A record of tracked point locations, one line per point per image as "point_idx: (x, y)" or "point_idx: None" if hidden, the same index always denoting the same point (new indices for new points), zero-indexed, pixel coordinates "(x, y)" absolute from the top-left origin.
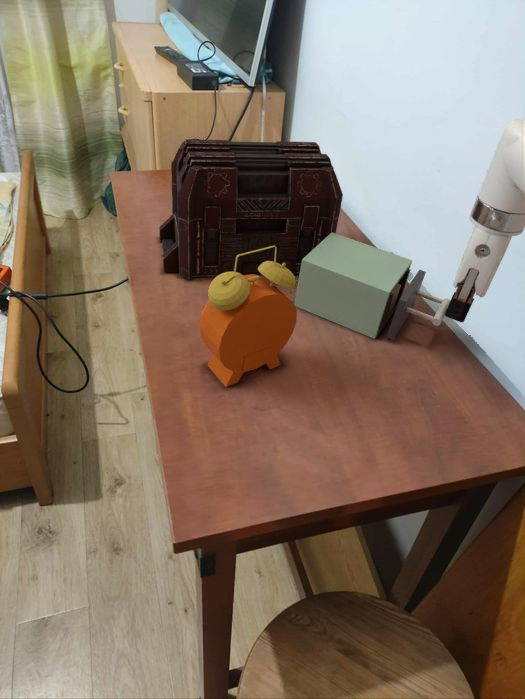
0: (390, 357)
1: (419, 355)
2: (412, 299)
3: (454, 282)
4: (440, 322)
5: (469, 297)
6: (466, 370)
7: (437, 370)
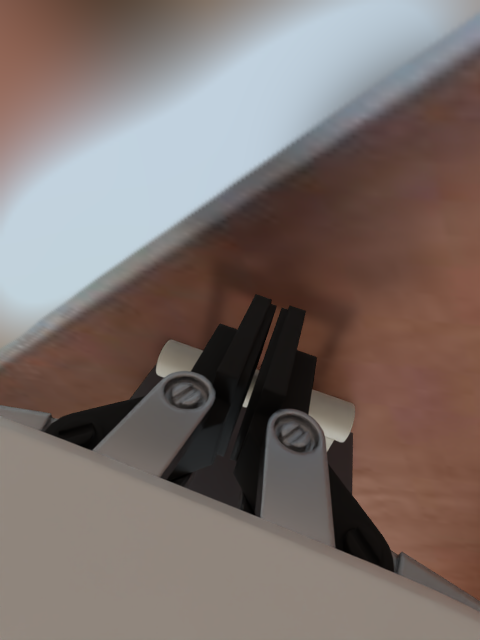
0: (424, 431)
1: (392, 354)
2: (215, 465)
3: None
4: (354, 415)
5: (378, 550)
6: (457, 188)
7: (475, 305)
